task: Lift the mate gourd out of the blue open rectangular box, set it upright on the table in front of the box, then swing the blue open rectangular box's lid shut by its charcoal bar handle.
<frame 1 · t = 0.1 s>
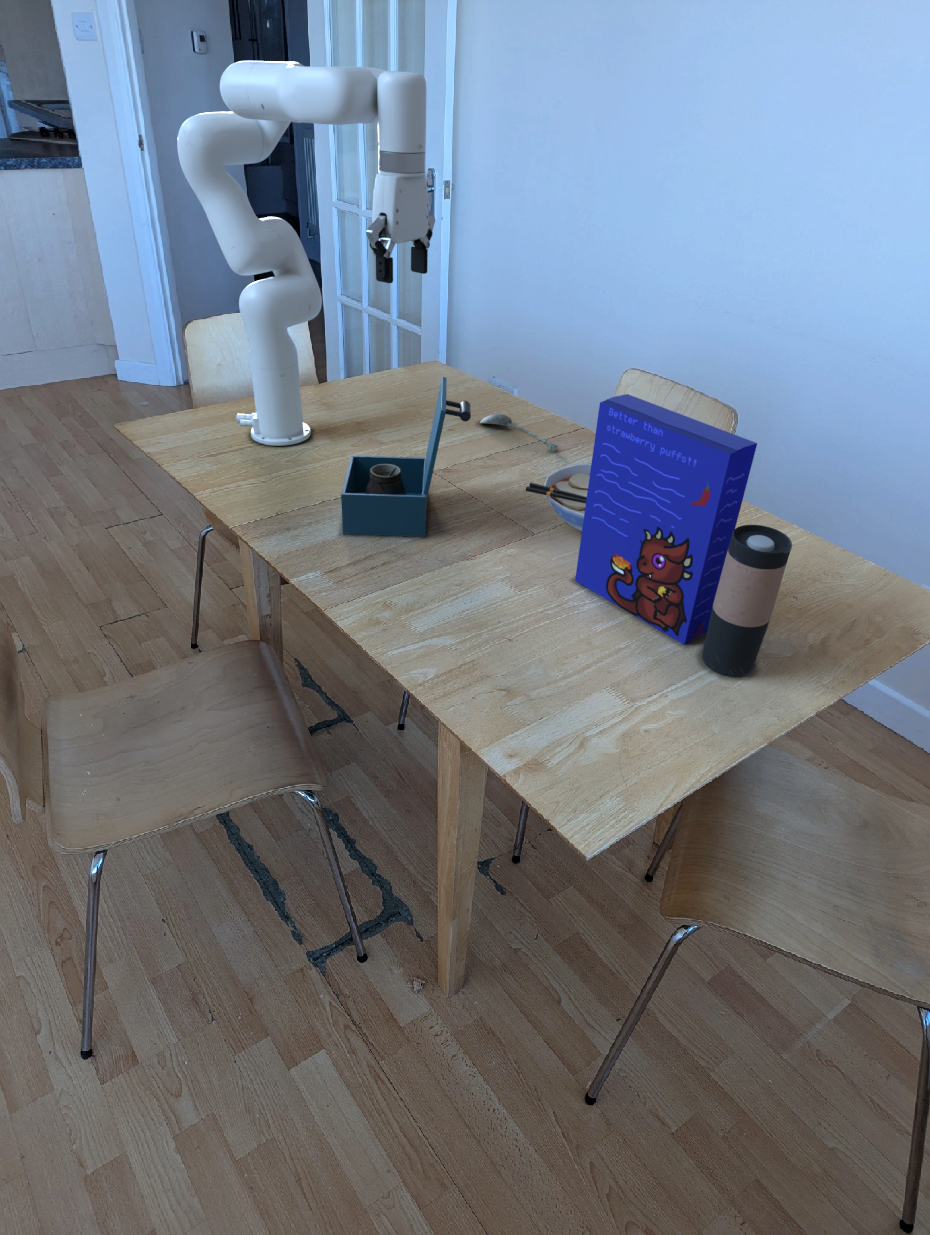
hand: (402, 277, 141), 37 cm above the table, tool pointing down, fingers open, 9 cm apart
blue open rectangular box: (387, 513, 149), on the table
mate gourd: (387, 511, 149), resting in blue open rectangular box
cereal box: (639, 605, 128), on the table
ramen bowl: (602, 528, 149), on the table
travel mug: (727, 662, 117), on the table
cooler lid: (448, 437, 141), point 15 cm above the table, hinge at 100.0°
soupspoon: (517, 436, 182), on the table
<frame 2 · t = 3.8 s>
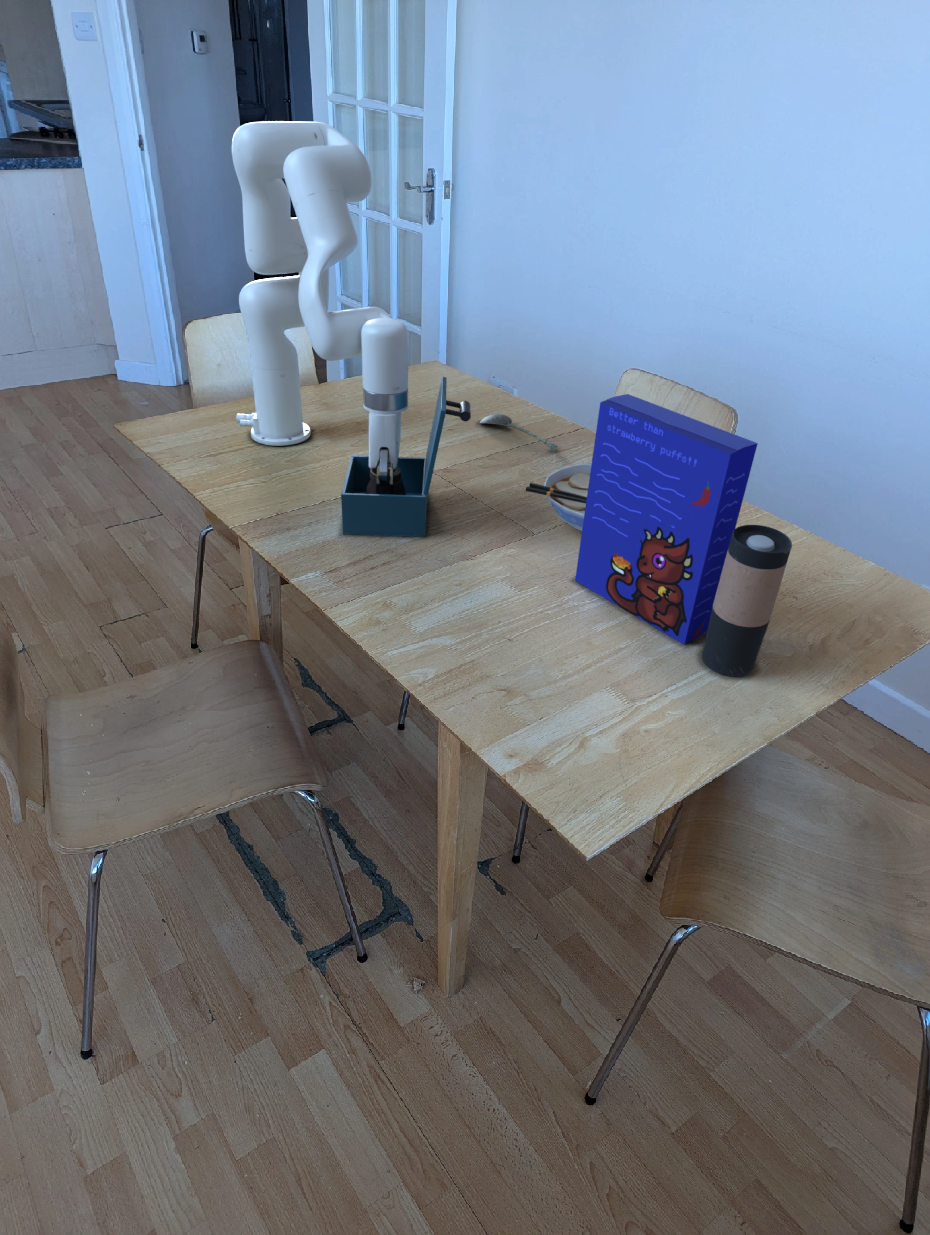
hand: (386, 493, 147), 4 cm above the table, tool pointing down, fingers closed on mate gourd, 7 cm apart
mate gourd: (387, 511, 149), resting in blue open rectangular box, touching gripper
everything else where it was.
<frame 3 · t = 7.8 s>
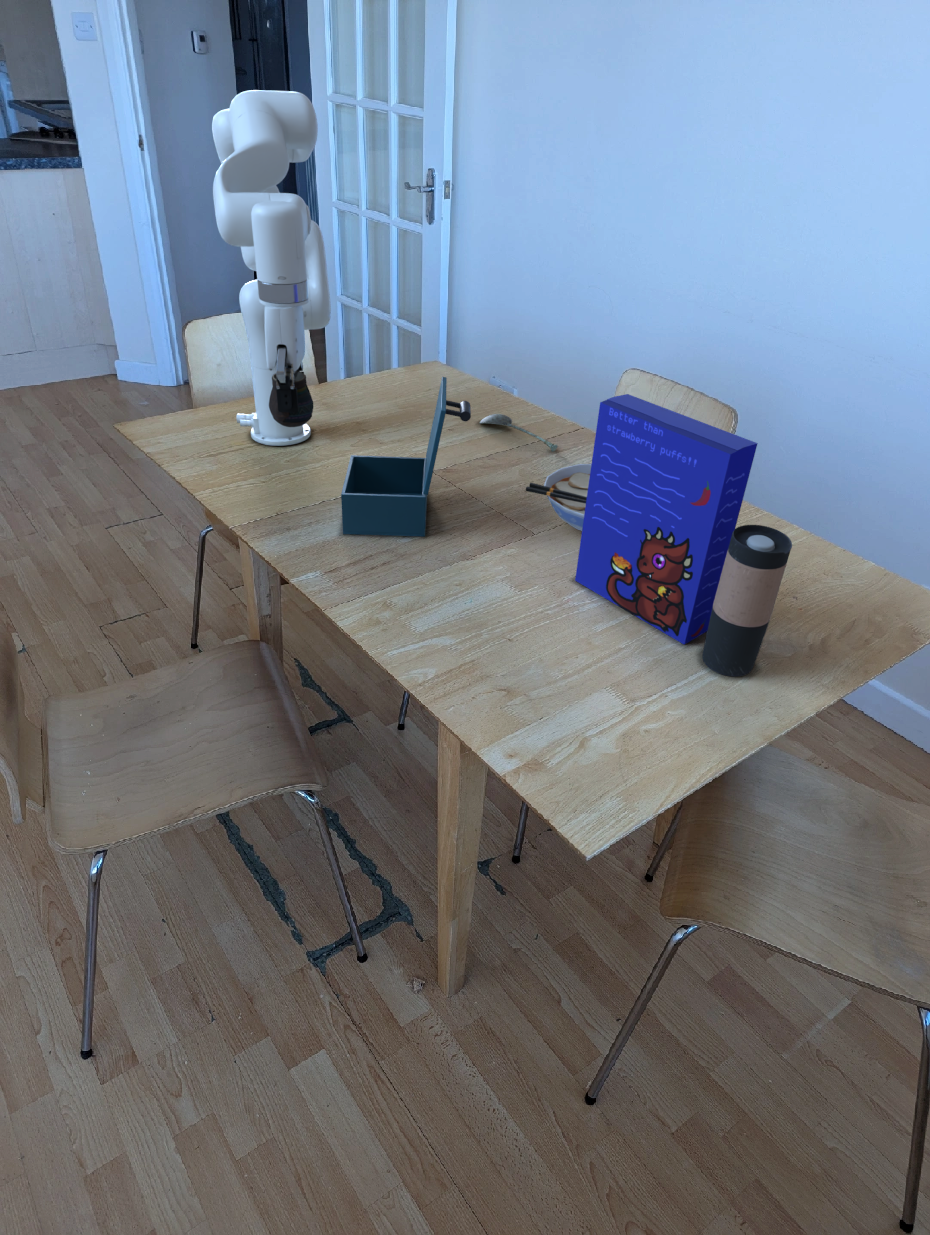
hand: (292, 402, 137), 20 cm above the table, tool pointing down, fingers closed on mate gourd, 7 cm apart
mate gourd: (293, 423, 139), point 17 cm above the table, touching gripper
everything else where it was.
when the fingers open (3 cm above the table, at t = 12.0 s): mate gourd stays where it is, on the table.
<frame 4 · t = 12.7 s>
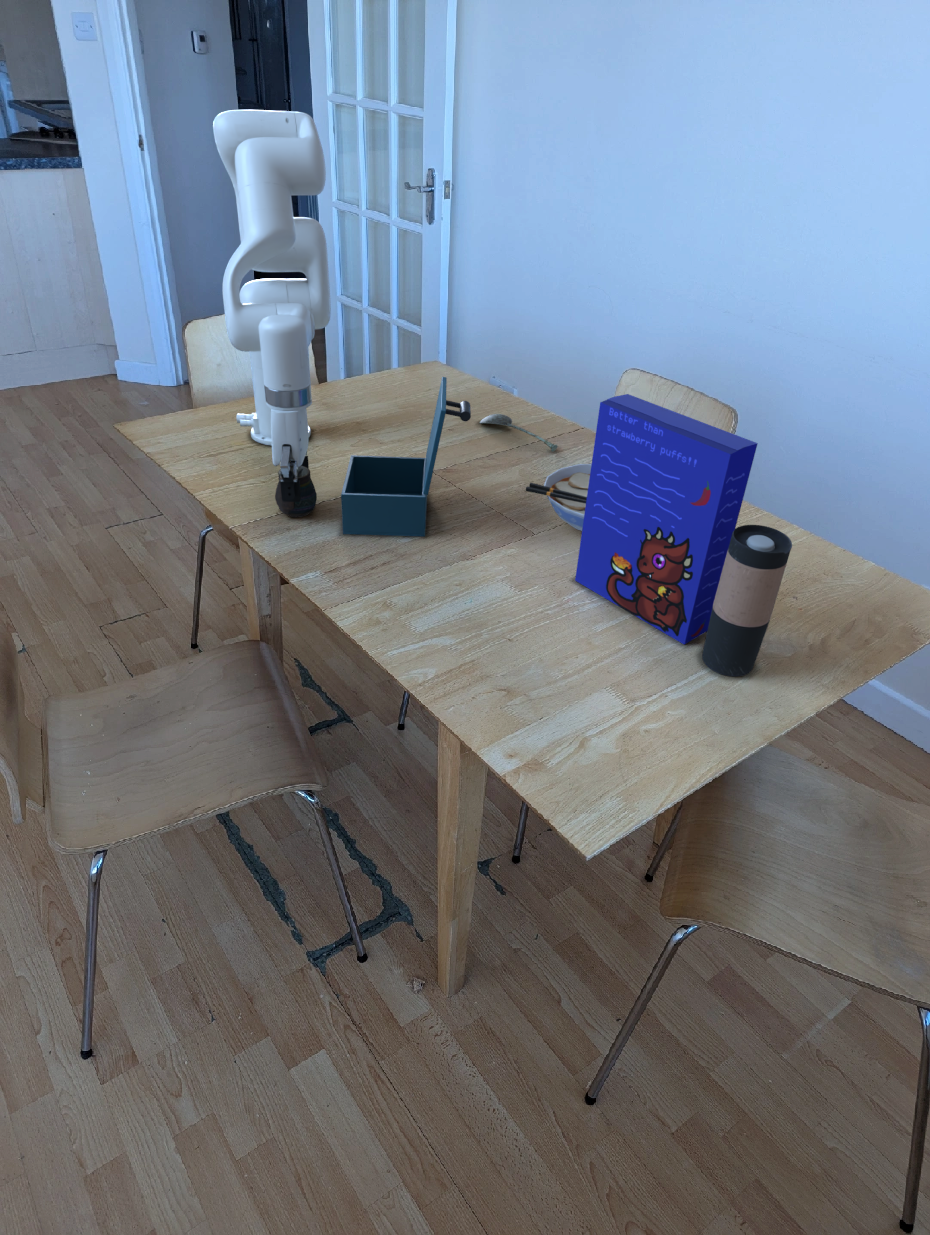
hand: (296, 488, 146), 5 cm above the table, tool pointing down, fingers open, 9 cm apart
mate gourd: (298, 513, 148), on the table
everything else where it was.
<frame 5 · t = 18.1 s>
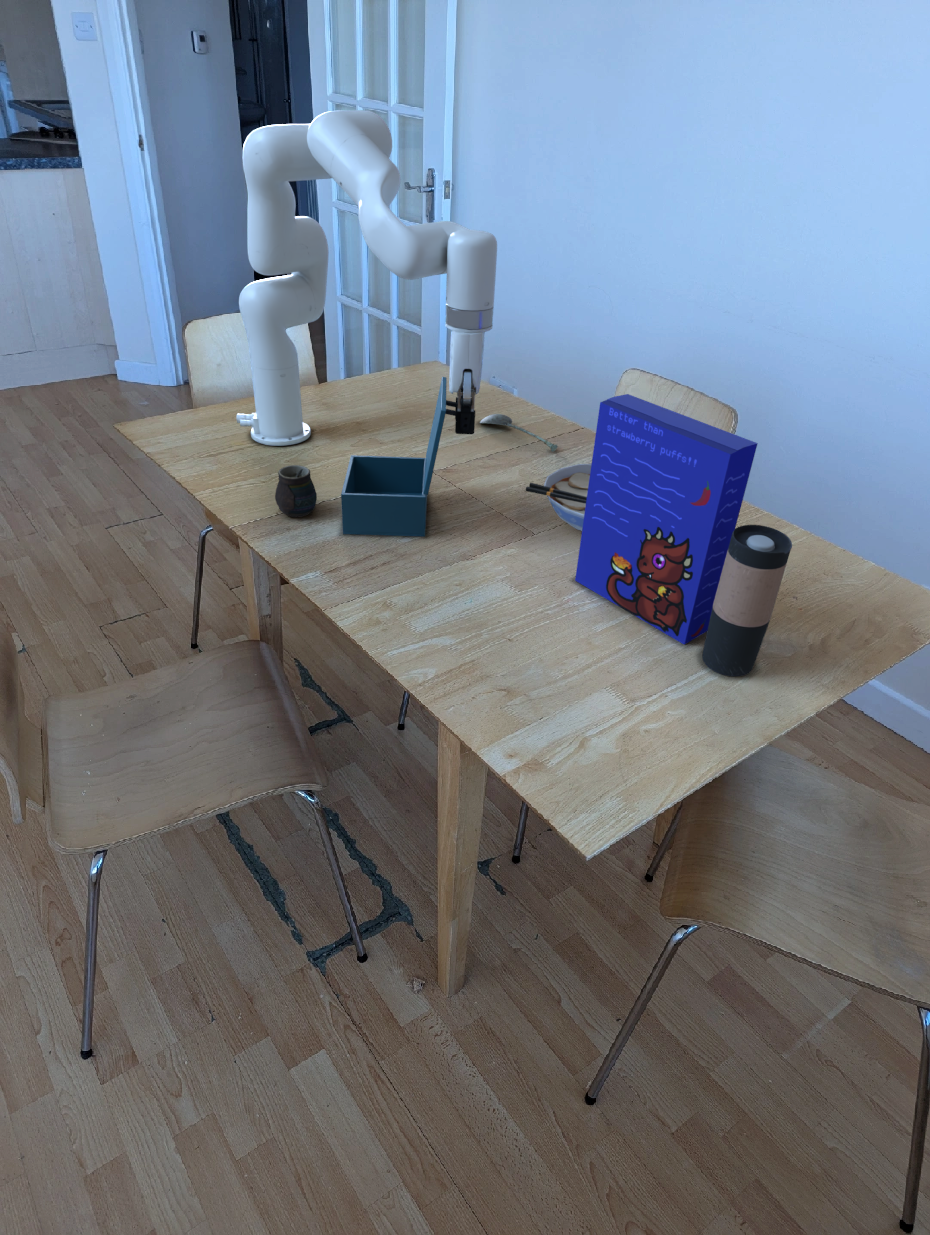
hand: (464, 425, 140), 17 cm above the table, tool pointing down, fingers closed on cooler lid, 5 cm apart
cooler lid: (448, 437, 141), point 15 cm above the table, hinge at 100.0°, touching gripper
everything else where it was.
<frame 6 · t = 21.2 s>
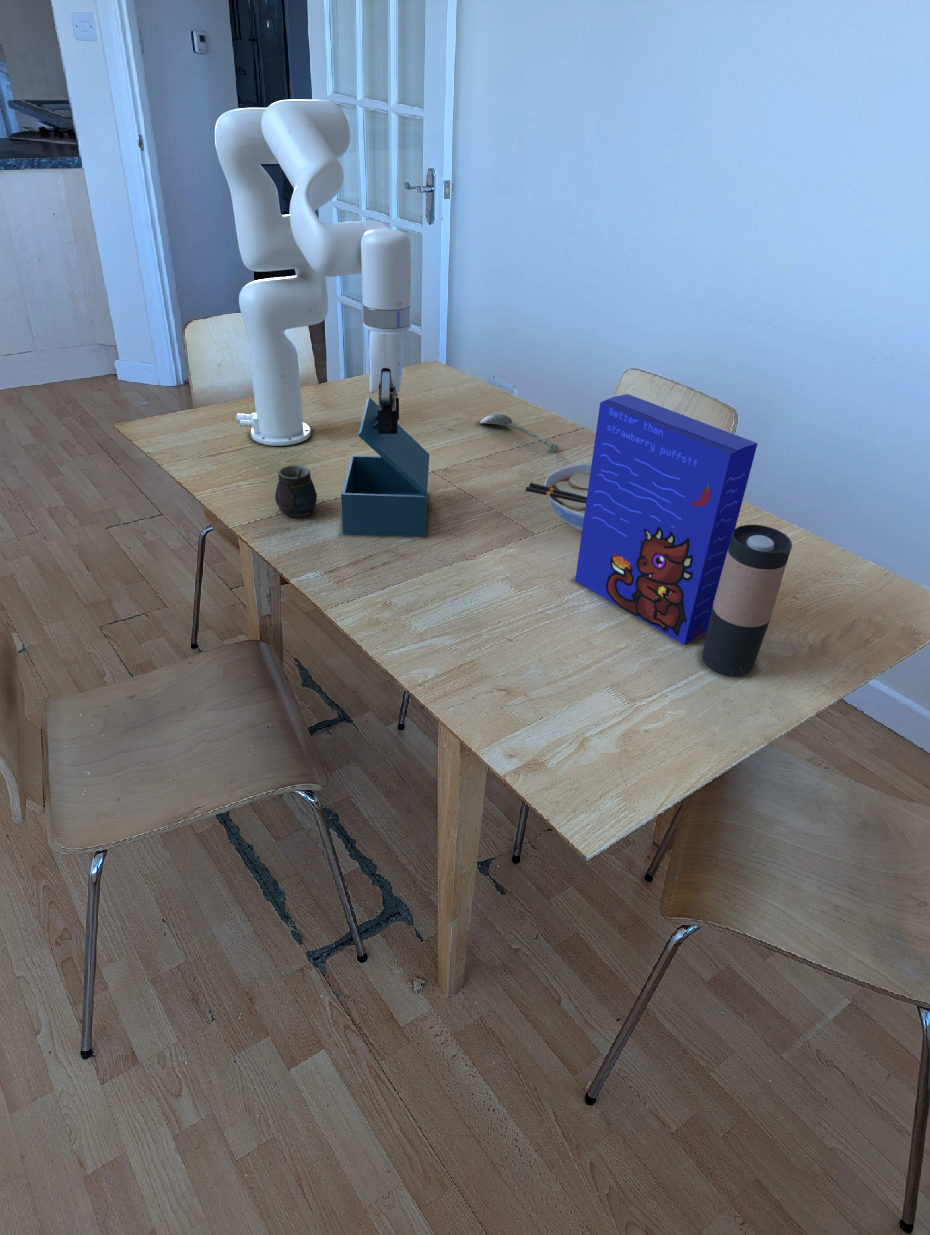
hand: (388, 425, 140), 17 cm above the table, tool pointing down, fingers closed on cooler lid, 5 cm apart
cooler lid: (405, 436, 141), point 15 cm above the table, hinge at 43.9°, touching gripper
everything else where it was.
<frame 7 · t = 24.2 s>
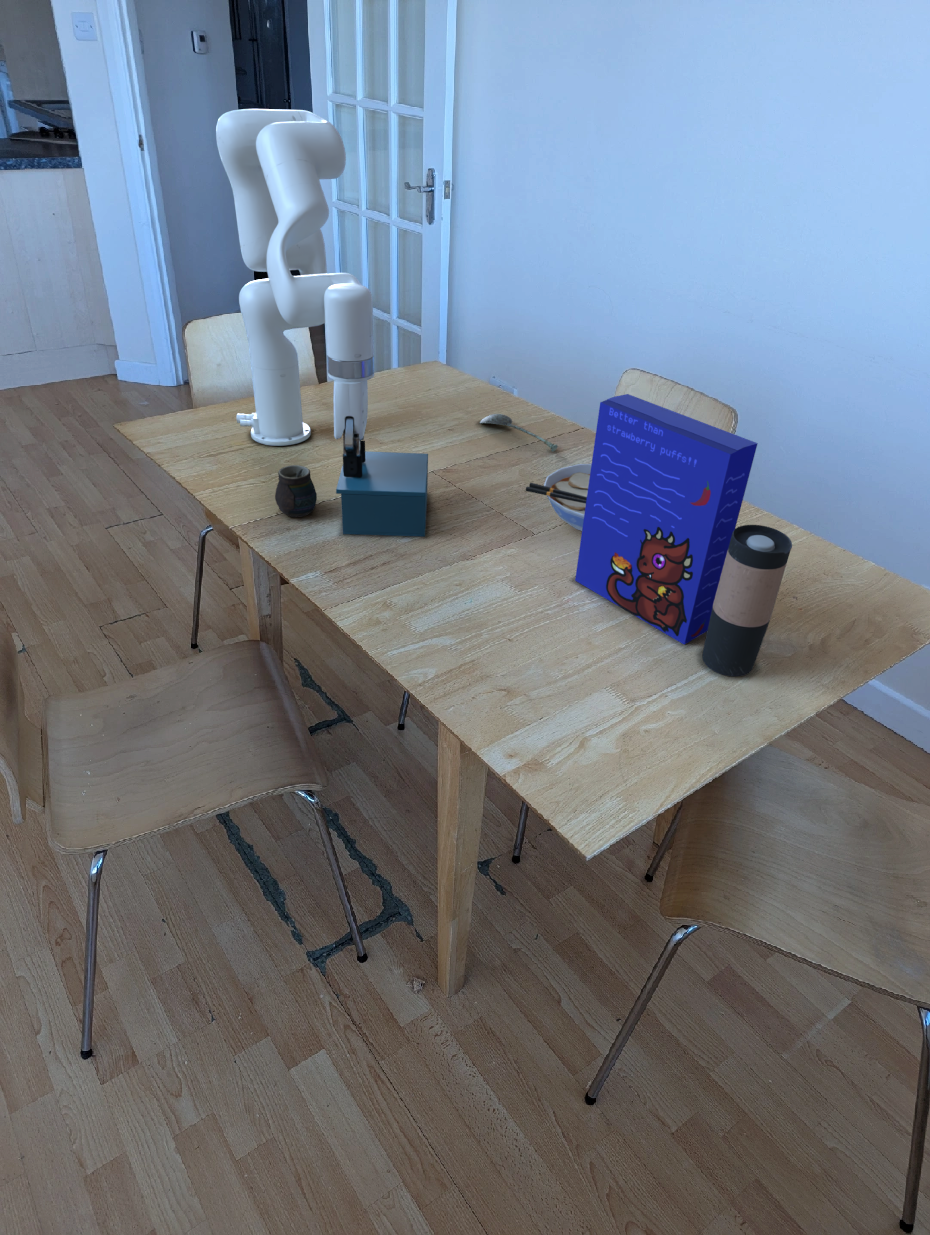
hand: (354, 468, 144), 9 cm above the table, tool pointing down, fingers open, 5 cm apart
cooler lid: (384, 460, 143), point 10 cm above the table, hinge at 0.1°
everything else where it was.
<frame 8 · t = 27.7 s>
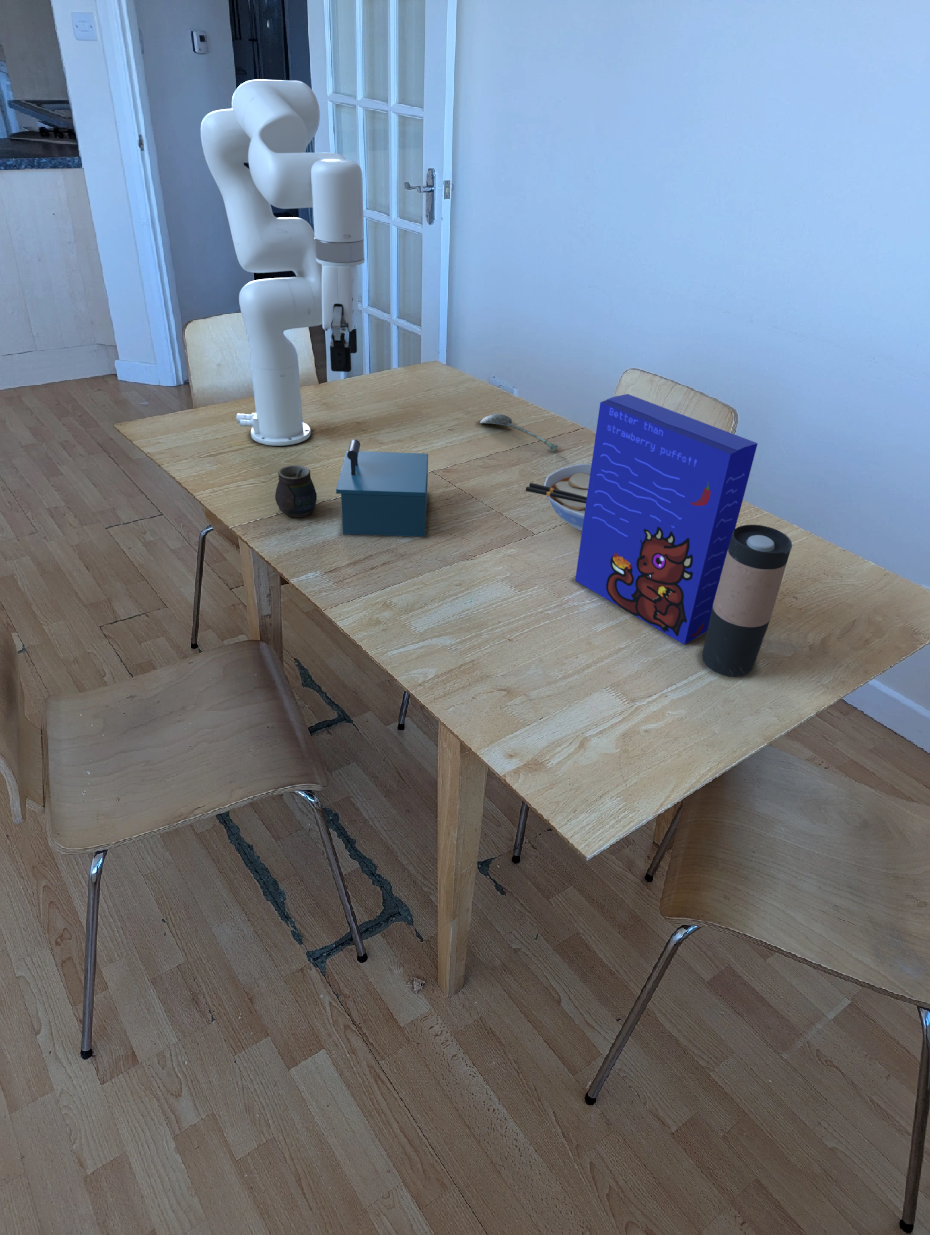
hand: (344, 361, 137), 26 cm above the table, tool pointing down, fingers open, 9 cm apart
nothing on the table moved.
at the end: mate gourd inside the target area (0.4 cm from its centre), on the table; mate gourd tilted 0°; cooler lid at +0° (first picture: +100°) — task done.
